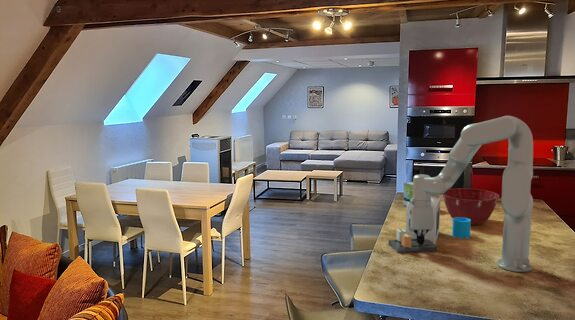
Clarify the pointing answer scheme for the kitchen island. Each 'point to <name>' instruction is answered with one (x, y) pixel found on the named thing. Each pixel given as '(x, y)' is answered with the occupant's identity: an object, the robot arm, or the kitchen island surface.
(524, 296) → the kitchen island surface
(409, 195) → the tea box
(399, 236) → the fader ivory
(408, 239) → the fader orange
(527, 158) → the robot arm
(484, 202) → the mixing bowl
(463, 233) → the mug
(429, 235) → the gable box
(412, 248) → the console
